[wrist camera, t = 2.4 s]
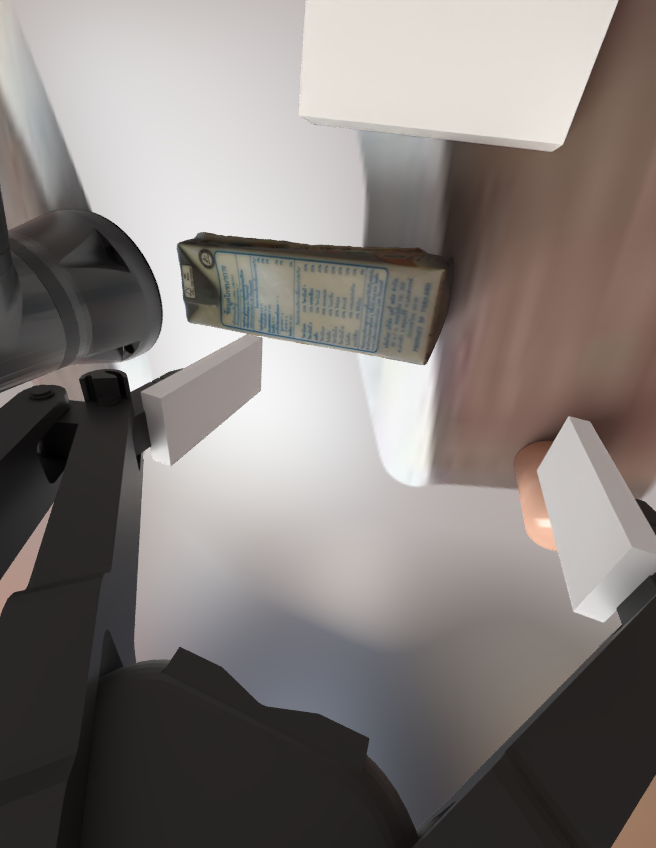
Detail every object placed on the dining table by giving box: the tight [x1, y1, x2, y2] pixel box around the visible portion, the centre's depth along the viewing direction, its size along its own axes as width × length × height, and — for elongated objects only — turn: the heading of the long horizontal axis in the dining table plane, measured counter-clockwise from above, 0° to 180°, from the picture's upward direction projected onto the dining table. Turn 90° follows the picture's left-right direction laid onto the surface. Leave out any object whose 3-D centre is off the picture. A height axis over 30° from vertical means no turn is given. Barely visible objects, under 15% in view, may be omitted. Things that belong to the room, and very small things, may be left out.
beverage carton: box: [177, 232, 453, 365], centre depth 27 cm, size 8×19×7 cm
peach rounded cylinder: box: [514, 441, 557, 551], centre depth 29 cm, size 5×5×8 cm
